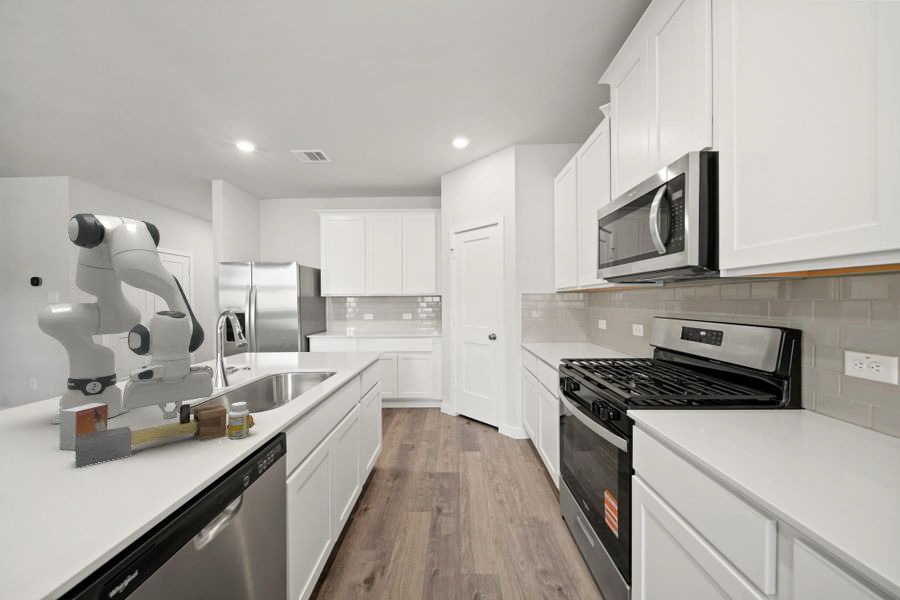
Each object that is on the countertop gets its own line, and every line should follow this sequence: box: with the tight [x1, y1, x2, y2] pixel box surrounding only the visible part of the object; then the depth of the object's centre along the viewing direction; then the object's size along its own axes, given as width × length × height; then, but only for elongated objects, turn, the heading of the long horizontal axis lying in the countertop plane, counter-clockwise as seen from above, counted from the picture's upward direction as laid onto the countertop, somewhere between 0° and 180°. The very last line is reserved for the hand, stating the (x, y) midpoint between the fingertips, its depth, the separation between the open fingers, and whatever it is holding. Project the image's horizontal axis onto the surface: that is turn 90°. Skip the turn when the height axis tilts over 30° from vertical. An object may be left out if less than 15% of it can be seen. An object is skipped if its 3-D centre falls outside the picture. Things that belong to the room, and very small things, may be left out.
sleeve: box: [74, 425, 133, 469], centre depth 94 cm, size 6×10×6 cm, turn 137°
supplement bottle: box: [227, 401, 250, 440], centre depth 110 cm, size 5×5×10 cm
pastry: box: [226, 414, 254, 429], centre depth 120 cm, size 9×7×4 cm
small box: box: [58, 403, 109, 451], centre depth 103 cm, size 8×6×10 cm
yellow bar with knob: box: [131, 403, 199, 447], centre depth 105 cm, size 3×20×8 cm, turn 137°
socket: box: [193, 403, 227, 442], centre depth 111 cm, size 8×6×8 cm
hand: (170, 418), depth 104 cm, fingers closed
